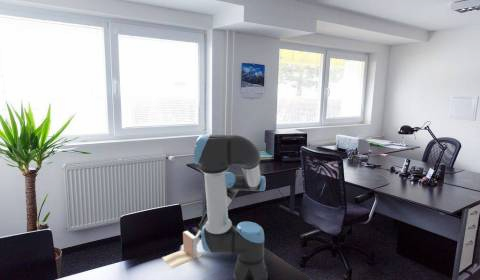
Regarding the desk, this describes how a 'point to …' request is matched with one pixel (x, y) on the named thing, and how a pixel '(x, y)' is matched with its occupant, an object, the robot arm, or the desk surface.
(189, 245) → the tile
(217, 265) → the desk surface
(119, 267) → the desk surface
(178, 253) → the board
